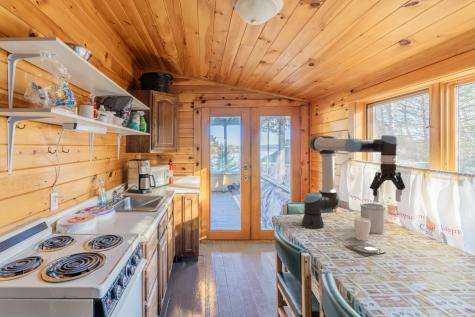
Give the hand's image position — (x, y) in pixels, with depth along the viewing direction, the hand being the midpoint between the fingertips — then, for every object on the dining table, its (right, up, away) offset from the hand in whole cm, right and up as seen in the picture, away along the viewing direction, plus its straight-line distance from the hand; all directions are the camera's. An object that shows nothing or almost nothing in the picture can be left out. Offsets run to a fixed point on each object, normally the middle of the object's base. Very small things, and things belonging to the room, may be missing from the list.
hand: (387, 201), depth 136 cm
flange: (-13, -26, -2) cm, 29 cm away
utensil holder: (+9, -25, +31) cm, 41 cm away
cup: (-7, -26, +15) cm, 30 cm away
